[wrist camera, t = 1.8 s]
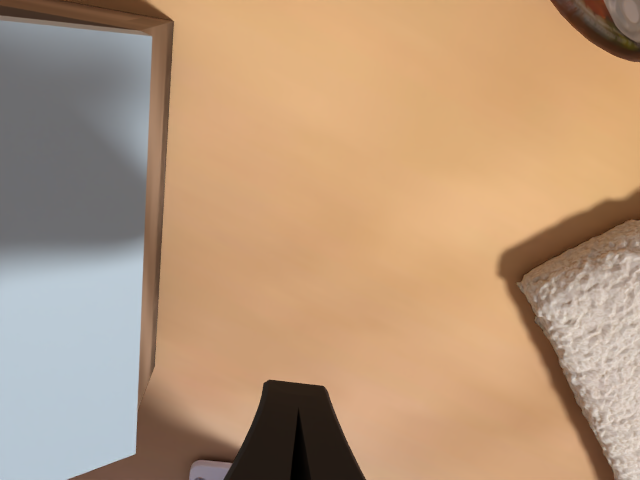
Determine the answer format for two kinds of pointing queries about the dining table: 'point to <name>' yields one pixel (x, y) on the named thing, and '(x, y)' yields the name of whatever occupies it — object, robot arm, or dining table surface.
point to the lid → (70, 244)
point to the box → (47, 5)
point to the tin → (606, 24)
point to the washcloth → (597, 335)
